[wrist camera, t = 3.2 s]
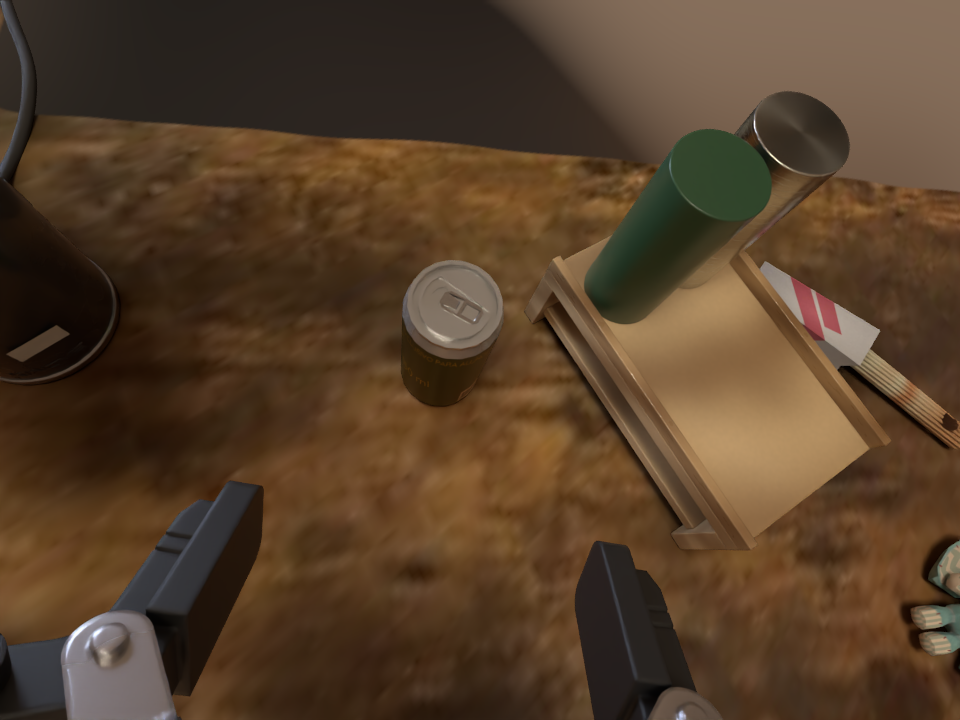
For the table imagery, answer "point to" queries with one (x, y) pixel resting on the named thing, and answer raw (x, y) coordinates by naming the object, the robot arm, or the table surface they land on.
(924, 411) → the paintbrush
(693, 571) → the table surface
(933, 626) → the stuffed animal
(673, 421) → the tray
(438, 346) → the beer can
